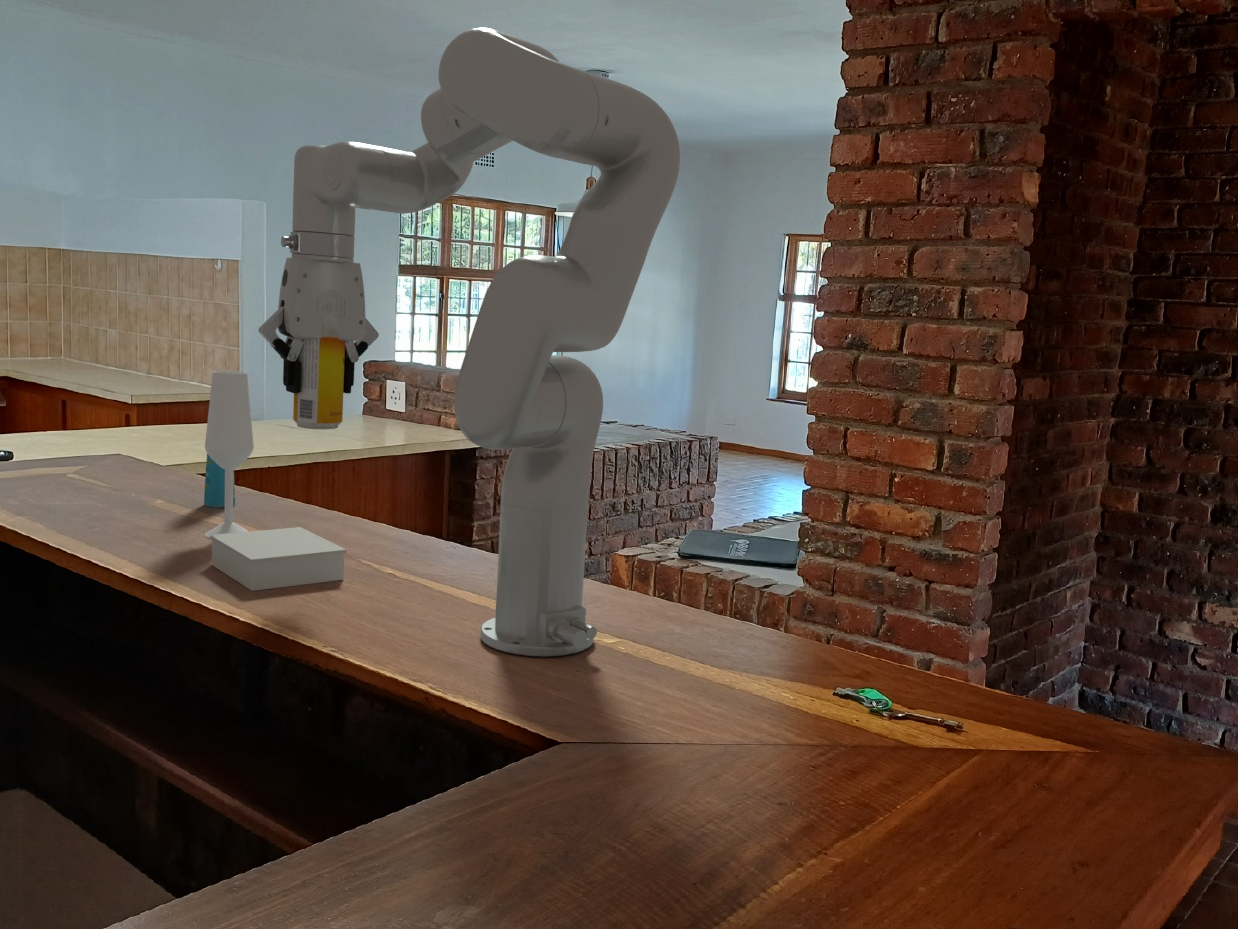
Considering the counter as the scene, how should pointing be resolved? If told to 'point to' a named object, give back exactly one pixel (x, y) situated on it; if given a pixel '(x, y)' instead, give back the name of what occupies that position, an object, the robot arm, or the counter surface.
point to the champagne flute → (229, 434)
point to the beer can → (321, 380)
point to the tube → (215, 485)
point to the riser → (277, 558)
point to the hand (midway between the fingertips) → (318, 390)
